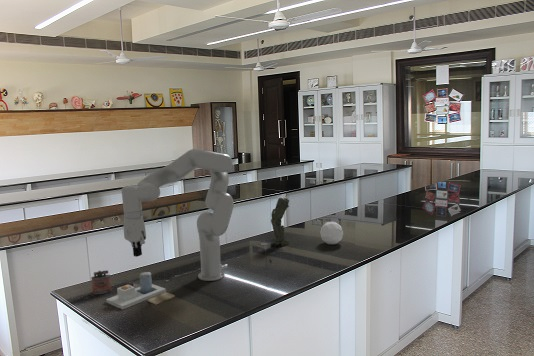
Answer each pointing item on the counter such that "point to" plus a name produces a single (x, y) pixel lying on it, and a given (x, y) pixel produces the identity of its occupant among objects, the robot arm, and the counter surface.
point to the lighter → (101, 282)
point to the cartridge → (145, 282)
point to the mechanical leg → (279, 222)
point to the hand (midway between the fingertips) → (137, 255)
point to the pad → (160, 298)
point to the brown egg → (125, 287)
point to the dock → (133, 296)
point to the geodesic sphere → (331, 232)
